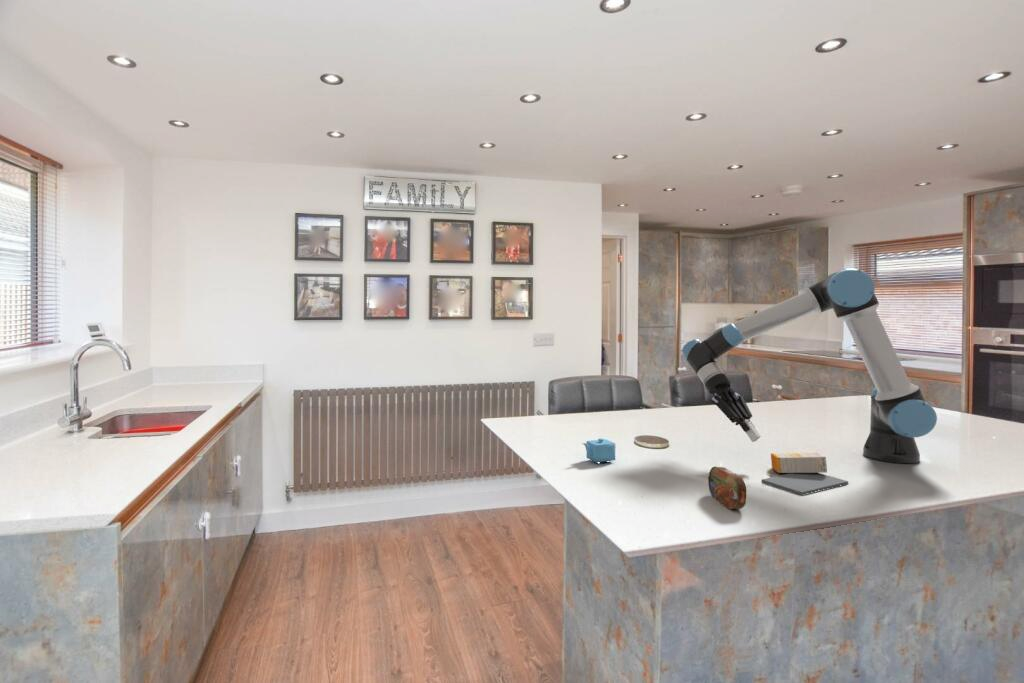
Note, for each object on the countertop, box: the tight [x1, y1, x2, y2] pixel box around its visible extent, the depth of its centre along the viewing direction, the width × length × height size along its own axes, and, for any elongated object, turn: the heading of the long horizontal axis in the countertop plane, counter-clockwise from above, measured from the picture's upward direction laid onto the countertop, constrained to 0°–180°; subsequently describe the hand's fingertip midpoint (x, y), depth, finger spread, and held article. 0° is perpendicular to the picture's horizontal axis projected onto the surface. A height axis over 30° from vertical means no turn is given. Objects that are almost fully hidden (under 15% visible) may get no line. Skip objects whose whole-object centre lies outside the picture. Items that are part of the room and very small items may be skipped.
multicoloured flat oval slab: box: [707, 466, 748, 510], centre depth 130 cm, size 15×3×8 cm, turn 5°
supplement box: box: [770, 452, 828, 474], centre depth 155 cm, size 8×5×13 cm
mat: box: [761, 473, 849, 496], centre depth 146 cm, size 20×12×1 cm, turn 116°
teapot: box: [581, 438, 616, 463], centre depth 168 cm, size 12×6×8 cm, turn 111°
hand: (756, 439), depth 159 cm, fingers closed
